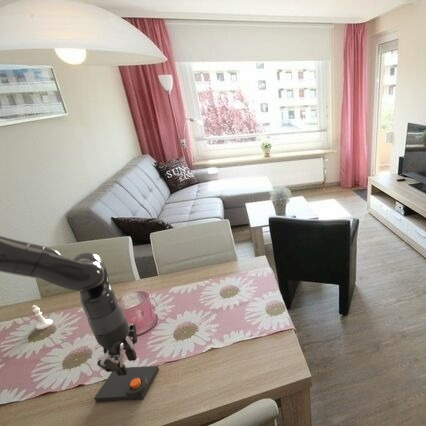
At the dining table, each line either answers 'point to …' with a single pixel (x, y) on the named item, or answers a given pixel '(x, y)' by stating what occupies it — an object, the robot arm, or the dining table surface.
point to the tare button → (135, 383)
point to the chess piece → (41, 319)
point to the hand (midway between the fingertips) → (128, 366)
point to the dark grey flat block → (127, 385)
